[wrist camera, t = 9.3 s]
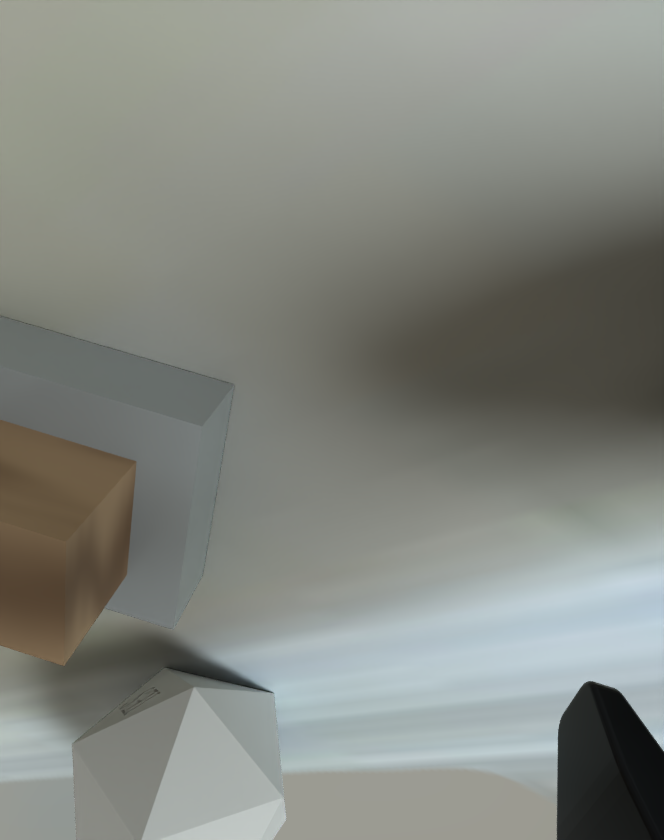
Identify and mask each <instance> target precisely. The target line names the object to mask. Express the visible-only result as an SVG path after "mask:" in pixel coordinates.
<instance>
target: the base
mask: <svg viewBox="0 0 664 840" xmlns="http://www.w3.org/2000/svg"><path fill="white" fill-rule="evenodd" d="M233 390H234V385H233V384H230V383H227V382H223V381H220V380H216V379H213V378H210V377H206V376H203V375H199V374H196V373H193V372H189V371H186V370H182V369H179V368H176V367H172V366H169V365H165V364H162V363H159V362H155V361H152V360H148V359H145V358H142V357H138V356H135V355H131V354H128V353H125V352H121V351H118V350H114V349H111V348H108V347H104V346H101V345H98V344H94V343H91V342H87V341H84V340H81V339H77V338H74V337H70V336H67V335H64V334H60V333H57V332H53V331H50V330H47V329H43V328H40V327H36V326H33V325H30V324H26V323H23V322H19V321H16V320H13V319H9V318H6V317H2V316H0V420H3V421H6V422H10V423H13V424H16V425H19V426H23V427H26V428H29V429H32V430H36V431H39V432H42V433H46V434H49V435H52V436H55V437H59V438H62V439H65V440H68V441H72V442H75V443H78V444H81V445H85V446H88V447H91V448H94V449H98V450H101V451H104V452H108V453H111V454H114V455H117V456H121V457H124V458H127V459H130V460H134V461H137V462H136V474H135V486H134V498H133V510H132V521H131V533H130V545H129V557H128V568H127V576H126V577H125V579H124V580H123V581H122V583H121V584H120V586H119V587H118V589H117V590H116V592H115V593H114V595H113V596H112V597H111V599H110V600H109V602H108V603H107V605H106V606H105V608H106V609H109V610H112V611H115V612H118V613H122V614H125V615H128V616H131V617H134V618H137V619H140V620H144V621H147V622H150V623H153V624H156V625H159V626H163V627H166V628H169V629H172V630H174V628H175V626H176V624H177V622H178V620H179V619H180V617H181V615H182V613H183V611H184V609H185V607H186V606H187V604H188V602H189V600H190V598H191V596H192V594H193V592H194V591H195V589H196V587H197V585H198V583H199V581H200V579H201V577H202V576H203V571H204V565H205V559H206V553H207V547H208V541H209V535H210V529H211V523H212V517H213V511H214V505H215V499H216V493H217V487H218V481H219V475H220V469H221V463H222V457H223V451H224V445H225V439H226V432H227V426H228V420H229V414H230V408H231V402H232V396H233Z"/></svg>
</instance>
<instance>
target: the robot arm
mask: <svg viewBox="0 0 664 840" xmlns="http://www.w3.org/2000/svg"><path fill="white" fill-rule="evenodd" d="M557 840H664V751H663V750H662V748H661V747H660V746H659V744H658V743H657V741H656V740H655V739H654V737H653V736H652V735H651V733H650V732H649V730H648V729H647V728H646V726H645V725H644V723H643V722H642V721H641V719H640V718H639V717H638V715H637V714H636V712H635V711H634V710H633V708H632V707H631V706H630V704H629V703H628V701H627V700H626V699H625V697H624V696H623V695H622V694H621V693H620V692H619V691H618V690H617V689H615V688H612V687H609V686H606V685H603V684H599V683H596V682H593V681H588V682H586V683H584V684H583V685H582V687H581V688H580V690H579V691H578V693H577V694H576V696H575V697H574V699H573V700H572V702H571V703H570V705H569V706H568V708H567V709H566V711H565V712H564V714H563V715H562V718H561V720H560V724H559V729H558V778H557Z"/></svg>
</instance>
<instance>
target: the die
mask: <svg viewBox="0 0 664 840" xmlns="http://www.w3.org/2000/svg"><path fill="white" fill-rule="evenodd" d="M72 752H73V775H74V798H75V820H76V840H273V838H274V837H275V835H276V834H277V832H278V831H279V829H280V828H281V826H282V825H283V823H284V822H285V820H286V811H285V803H284V802H285V801H284V791H283V781H282V770H281V760H280V749H279V739H278V729H277V718H276V708H275V697H274V693H270V692H266V691H262V690H258V689H253V688H249V687H245V686H241V685H236V684H232V683H228V682H224V681H219V680H215V679H211V678H207V677H202V676H198V675H194V674H190V673H185V672H181V671H177V670H173V669H168V668H163V669H162V670H161V671H160V672H159V673H157V674H156V675H155V676H154V677H152V678H151V679H150V680H149V681H148V682H146V683H145V684H144V685H143V686H142V687H140V688H139V689H138V690H137V691H136V692H134V693H133V694H132V695H131V696H130V697H128V698H127V699H126V700H125V701H123V702H122V703H121V704H120V705H119V706H117V707H116V708H115V709H114V710H113V711H111V712H110V713H109V714H108V715H107V716H105V717H104V718H103V719H102V720H101V721H99V722H98V723H97V724H96V725H95V726H93V727H92V728H91V729H90V730H88V731H87V732H86V733H85V734H84V735H82V736H81V737H80V738H79V739H78V740H76V741H75V742H74V743H73V744H72Z"/></svg>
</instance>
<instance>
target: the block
mask: <svg viewBox="0 0 664 840" xmlns="http://www.w3.org/2000/svg"><path fill="white" fill-rule="evenodd" d="M136 462H137V461H134V460H130V459H127V458H124V457H121V456H117V455H114V454H111V453H108V452H104V451H101V450H98V449H94V448H91V447H88V446H85V445H81V444H78V443H75V442H72V441H68V440H65V439H62V438H59V437H55V436H52V435H49V434H46V433H42V432H39V431H36V430H32V429H29V428H26V427H23V426H19V425H16V424H13V423H10V422H6V421H3V420H0V645H1V646H4V647H7V648H10V649H13V650H16V651H19V652H22V653H25V654H29V655H32V656H35V657H38V658H41V659H44V660H47V661H50V662H53V663H56V664H59V665H62V666H64V665H65V664H66V662H67V661H68V660H69V658H70V657H71V655H72V654H73V652H74V651H75V649H76V648H77V647H78V645H79V644H80V642H81V641H82V639H83V638H84V636H85V635H86V634H87V632H88V631H89V629H90V628H91V626H92V625H93V623H94V622H95V621H96V619H97V618H98V616H99V615H100V613H101V612H102V610H103V609H104V608H105V606H106V605H107V603H108V602H109V600H110V599H111V597H112V596H113V595H114V593H115V592H116V590H117V589H118V587H119V586H120V584H121V583H122V581H123V580H124V579H125V577H126V576H127V568H128V557H129V545H130V533H131V521H132V510H133V498H134V486H135V474H136Z"/></svg>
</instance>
